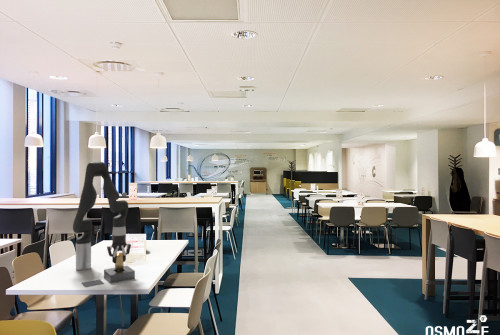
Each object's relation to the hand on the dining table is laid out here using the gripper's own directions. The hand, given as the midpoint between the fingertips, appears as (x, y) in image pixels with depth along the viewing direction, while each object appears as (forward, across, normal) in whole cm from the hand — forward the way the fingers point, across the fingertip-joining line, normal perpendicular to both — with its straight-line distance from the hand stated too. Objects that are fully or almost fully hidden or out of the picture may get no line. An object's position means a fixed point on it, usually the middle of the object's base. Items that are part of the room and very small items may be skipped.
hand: (119, 262), depth 214 cm
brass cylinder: (+6, 0, 0) cm, 6 cm away
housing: (+10, 0, 0) cm, 10 cm away
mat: (+10, +15, +1) cm, 18 cm away
